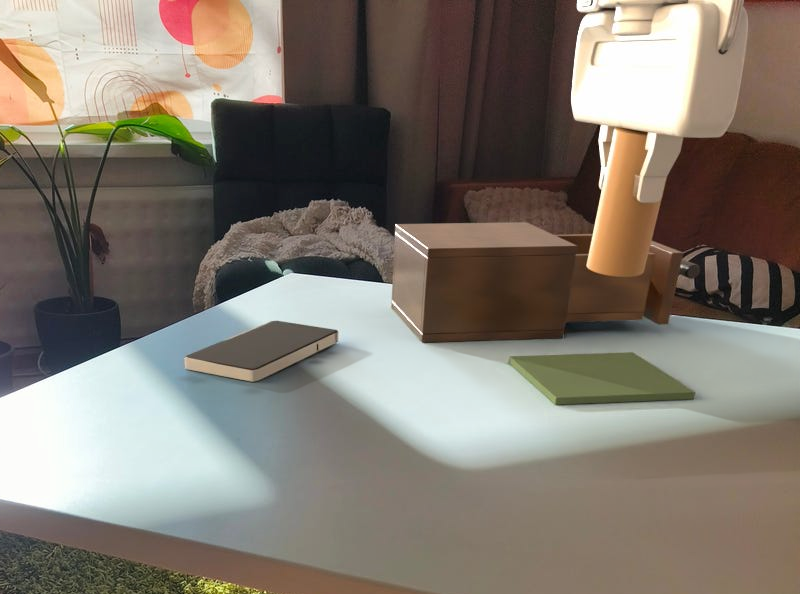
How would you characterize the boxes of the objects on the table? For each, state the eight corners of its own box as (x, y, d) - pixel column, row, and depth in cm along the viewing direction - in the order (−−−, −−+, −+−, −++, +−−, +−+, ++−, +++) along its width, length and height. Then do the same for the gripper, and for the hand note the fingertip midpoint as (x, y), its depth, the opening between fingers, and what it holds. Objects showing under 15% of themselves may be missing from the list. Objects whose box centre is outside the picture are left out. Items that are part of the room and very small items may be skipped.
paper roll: (630, 260, 75) (661, 125, 69) (653, 277, 72) (688, 135, 66) (578, 261, 75) (605, 124, 69) (598, 277, 71) (629, 135, 65)
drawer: (649, 294, 102) (662, 229, 99) (707, 323, 91) (724, 251, 88) (500, 298, 100) (507, 232, 96) (541, 328, 89) (551, 255, 85)
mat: (631, 358, 83) (632, 351, 83) (694, 399, 73) (695, 392, 73) (508, 362, 82) (509, 356, 82) (555, 404, 72) (556, 397, 72)
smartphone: (180, 356, 79) (272, 319, 90) (181, 370, 80) (272, 331, 91) (255, 370, 76) (342, 330, 86) (256, 384, 76) (341, 342, 87)
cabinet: (516, 304, 101) (526, 222, 97) (563, 338, 89) (577, 245, 85) (391, 308, 100) (395, 224, 95) (421, 342, 88) (428, 248, 83)
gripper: (795, -35, 54) (735, 215, 62) (646, -13, 71) (613, 181, 79) (698, -38, 53) (649, 216, 61) (570, -15, 70) (544, 181, 78)
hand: (627, 196), depth 70 cm, fingers closed on paper roll, 5 cm apart
